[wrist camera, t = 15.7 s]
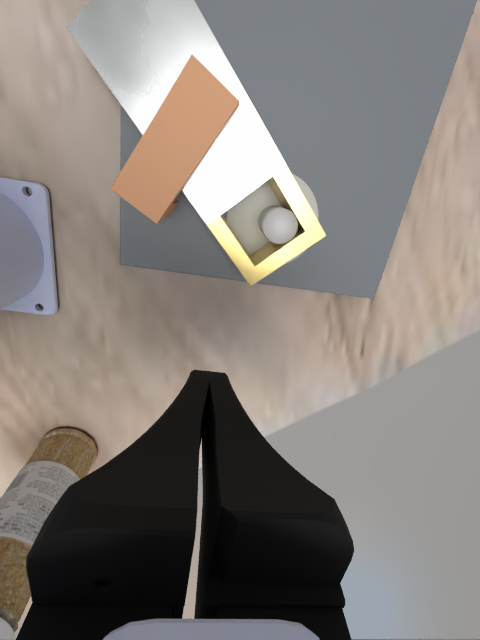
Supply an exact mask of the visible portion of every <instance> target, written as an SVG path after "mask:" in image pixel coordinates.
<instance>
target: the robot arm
mask: <svg viewBox="0 0 480 640" xmlns="http://www.w3.org/2000/svg"><path fill="white" fill-rule="evenodd" d="M27 187H29V188H30V189H31V191H32V195H31V196H29V195H28V194H27V192H26V188H27ZM38 304H41V305H42V306H43V309H41V308H40V307H39V306H38ZM0 310H7V311H16V312H25V313H34V314H42V315H52V314H54V313H56V312H57V310H58V300H57V287H56V275H55V262H54V249H53V237H52V224H51V212H50V199H49V192H48V190H47V188H46V187H45V186H44V185H42V184H39V183H34V182H28V181H21V180H15V179H9V178H3V177H0ZM201 438H202V470H203V508H202V523H201V537H200V551H199V565H198V578H197V591H196V604H195V618H194V619H182V614H183V608H184V605H185V598H186V592H187V585H188V579H189V572H190V566H191V558H192V553H193V546H194V540H195V532H196V517H197V494H198V493H197V492H198V467H199V449H200V444H201ZM353 553H354V546H353V541H352V538H351V536H350V533H349V530H348V527H347V525H346V523H345V520H344V518H343V516H342V514H341V512H340V510H339V508H338V506H337V504H336V502H335V500H334V499H333V498H332V497H331V496H329V495H327V494H326V493H325V492H323V491H322V490H321V489H320V488H318V487H317V486H315V485H314V484H313V483H311V482H310V481H308V480H307V479H306V478H305V477H303V476H302V475H301V474H300V473H299V472H298V471H297V470H295V469H294V468H293V467H292V466H291V465H290V464H289V463H287V462H286V461H285V460H284V459H283V458H282V457H281V456H280V455H279V454H278V453H277V452H276V451H275V450H274V449H273V448H272V446H271V445H270V444H269V443H268V442H267V441H266V440H265V438H264V437H263V436H262V435H261V433H260V432H259V431H258V429H257V428H256V427H255V425H254V424H253V423H252V421H251V420H250V418H249V417H248V415H247V414H246V412H245V410H244V409H243V407H242V405H241V403H240V402H239V400H238V398H237V396H236V394H235V392H234V390H233V388H232V386H231V384H230V381H229V379H228V376H227V375H226V373H220V372H210V371H200V370H193V371H192V372H191V373H190V376H189V378H188V380H187V382H186V384H185V385H184V387H183V389H182V390H181V392H180V393H179V394H178V396H177V397H176V399H175V400H174V401H173V403H172V404H171V405H170V406H169V408H168V409H167V410H166V411H165V412H164V414H163V415H162V416H161V417H160V418H159V419H158V420H157V421H156V422H155V423H154V424H153V425H152V426H151V427H150V428H149V429H148V430H147V431H146V432H145V433H144V434H143V435H142V436H141V437H140V438H139V439H137V440H136V441H135V442H134V443H133V444H132V445H130V446H129V447H128V448H127V449H125V450H124V451H123V452H121V453H120V454H119V455H117V456H116V457H114V458H113V459H112V460H110V461H109V462H108V463H106V464H105V465H103V466H102V467H100V468H99V469H97V470H96V471H94V472H92V473H91V474H89V475H87V476H86V477H84V478H82V479H81V480H79V481H77V482H75V483H74V484H72V485H70V486H69V487H68V488H67V489H66V491H65V492H64V493H63V495H62V496H61V498H60V499H59V500H58V502H57V503H56V505H55V506H54V508H53V509H52V511H51V512H50V514H49V515H48V517H47V518H46V520H45V522H44V523H43V525H42V527H41V529H40V531H39V533H38V535H37V537H36V539H35V541H34V543H33V545H32V547H31V549H30V551H29V553H28V555H27V557H26V571H27V576H28V581H29V587H30V592H31V597H32V602H33V603H32V605H31V607H30V610H29V612H28V614H27V616H26V618H25V621H24V623H23V625H22V627H21V629H20V632H19V634H18V636H17V638H16V640H480V639H351V637H350V634H349V630H348V627H347V624H346V620H345V616H344V613H343V609H342V608H344V606H345V598H344V595H343V591H342V588H341V585H340V582H341V580H342V578H343V576H344V574H345V572H346V570H347V568H348V566H349V564H350V562H351V559H352V556H353Z"/></svg>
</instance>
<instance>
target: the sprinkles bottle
mask: <svg viewBox="0 0 480 640" xmlns="http://www.w3.org/2000/svg"><path fill="white" fill-rule="evenodd" d="M96 456H97V448H96V445H95V443H94V441H93V440H92V439H91V438H89V437H88V436H87V435H86V434H84V433H83V432H81V431H78V430H76V429H67V428H62V429H55V430H53V431H50V432H49V433H47V434H46V435H45V436H43V438H42V439H41V441H40V443H39V446H38V448H37V449H36V450H35V452H34V454H33V455H32V456H31V458H30V459H29V461H28V462H27V464H26V465H25V466H24V467H23V468H22V469H21V470H20V471H19V473H18V474H17V476H16V477H15V479H14V480H13V482H12V483H11V484H10V486H9V487H8V489H7V490H6V491H5V493H4V494H3V496H2V497H1V499H0V640H14V637H15V636H14V633H15V631H16V630H17V629H18V622H19V620H20V618H21V616H22V614H23V612H24V610H25V607H26V605H27V603H28V601H29V598H30V596H31V592H30V587H29V581H28V576H27V571H26V557H27V555H28V553H29V551H30V549H31V547H32V545H33V543H34V541H35V539H36V537H37V535H38V533H39V531H40V529H41V527H42V525H43V523H44V522H45V520H46V518H47V517H48V515H49V514H50V512H51V511H52V509H53V508H54V506H55V505H56V503H57V502H58V500H59V499H60V498H61V496H62V495H63V493H64V492H65V491H66V489H67V488H68V487H69V486H70V485H72V484H74V483H75V482H77V481H79V480H81V479H82V478H84V477H86V475H87V473H88V471H89V469H90V466H91V465H92V464H93V463H94V461H95V459H96Z"/></svg>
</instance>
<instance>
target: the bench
mask: <svg viewBox="0 0 480 640" xmlns="http://www.w3.org/2000/svg"><path fill="white" fill-rule="evenodd" d="M194 1H195V3H196V4H197V6H198V8H199V10H200V12H201V13H202V15H203V17H204V19H205V20H206V22H207V24H208V26H209V28H210V29H211V31H212V33H213V35H214V37H215V38H216V40H217V42H218V44H219V45H220V47H221V49H222V51H223V53H224V54H225V56H226V58H227V60H228V61H229V63H230V65H231V67H232V69H233V70H234V72H235V74H236V76H237V78H238V79H239V81H240V83H241V85H242V86H243V88H244V90H245V92H246V94H247V95H248V97H249V99H250V101H251V102H252V104H253V106H254V108H255V110H256V111H257V113H258V115H259V117H260V119H261V120H262V122H263V124H264V126H265V127H266V129H267V131H268V133H269V135H270V136H271V138H272V140H273V142H274V143H275V145H276V147H277V149H278V151H279V152H280V154H281V156H282V158H283V159H284V161H285V163H286V165H287V167H288V168H289V170H290V172H291V174H292V176H293V177H294V179H295V181H296V183H297V184H298V186H299V188H300V190H301V192H302V193H303V195H304V197H305V199H306V200H307V202H308V204H309V206H310V208H311V209H312V211H313V213H314V215H315V217H316V218H317V220H318V222H319V224H320V225H321V227H322V229H323V231H324V233H325V234H326V236H325V237H323V238H322V239H320V240H319V241H317V242H316V243H314V244H313V245H311V246H310V247H308V248H307V249H305V250H304V251H302V252H301V253H299V254H298V255H297V256H295V257H294V258H292V259H291V260H289V261H288V262H286V263H285V264H283V265H282V266H280V267H279V268H277V269H276V270H274V271H273V272H271V273H270V274H268V275H267V276H265V277H264V278H263V279H261V280H260V281H258V282H257V283H261V284H268V285H276V286H283V287H291V288H298V289H305V290H313V291H320V292H328V293H335V294H342V295H350V296H357V297H365V298H372V299H374V297H375V294H376V291H377V289H378V286H379V283H380V280H381V277H382V274H383V271H384V268H385V265H386V263H387V260H388V257H389V254H390V251H391V248H392V245H393V242H394V239H395V236H396V234H397V231H398V228H399V225H400V222H401V219H402V216H403V213H404V210H405V208H406V205H407V202H408V199H409V196H410V193H411V190H412V187H413V184H414V181H415V179H416V176H417V173H418V170H419V167H420V164H421V161H422V158H423V155H424V153H425V150H426V147H427V144H428V141H429V138H430V135H431V132H432V129H433V126H434V124H435V121H436V118H437V115H438V112H439V109H440V106H441V103H442V100H443V98H444V95H445V92H446V89H447V86H448V83H449V80H450V77H451V74H452V71H453V69H454V66H455V63H456V60H457V57H458V54H459V51H460V48H461V45H462V43H463V40H464V37H465V34H466V31H467V28H468V25H469V22H470V19H471V16H472V14H473V11H474V8H475V5H476V2H477V0H194ZM142 136H143V135H142V133H141V132H140V130H139V129H138V128H137V126H136V125H135V123H134V122H133V121H132V119H131V118H130V116H129V115H128V114H127V112H126V111H125V109H124V108H123V107H122V105H121V171H122V169H123V167H124V166H125V164H126V162H127V161H128V159H129V157H130V156H131V154H132V152H133V151H134V149H135V147H136V146H137V144H138V142H139V141H140V139H141V137H142ZM176 199H177V200H179V201H180V202H179V203H178V205H177V206H176V208H175V209H174V211H173V212H172V214H171V215H170V216H169V217H167V218H165V219H164V220H162V221H161V222H159V223H157V224H156V223H155V222H154V221H152V220H151V219H150V218H148V217H147V216H146V215H144V214H143V213H142V212H140V211H139V210H138V209H136V208H135V207H134V206H132V205H131V204H130V203H128V202H127V201H126V200H124V199H123V198H122V197H121V196H120V265H128V266H135V267H143V268H150V269H157V270H165V271H172V272H180V273H187V274H194V275H202V276H209V277H217V278H224V279H231V280H239V281H246V279H245V278H244V276H243V275H242V274H241V272H240V271H239V269H238V268H237V267H236V265H235V264H234V262H233V261H232V260H231V258H230V257H229V255H228V254H227V253H226V251H225V250H224V248H223V247H222V246H221V244H220V243H219V241H218V240H217V239H216V237H215V236H214V234H213V233H212V231H211V230H210V229H209V227H208V226H207V224H206V223H205V222H204V220H203V219H202V217H201V216H200V215H199V213H198V212H197V210H196V209H195V208H194V206H193V205H192V203H191V202H190V201H189V199H188V198H187V196H186V195H185V194H184V192H183V191H182V190H181V191H180V193H179V194H178V196H177V197H176ZM222 215H223V216H224V218H225V219H226V221H227V222H228V224H229V225H230V227H231V228H232V229H233V231H234V232H235V234H236V235H237V237H238V238H239V240H240V241H241V243H242V244H243V246H244V247H245V248H246V250H247V251H248V253H249V254H250V255H252V254H253V253H254V252H256V251H257V250H259V249H260V248H262V247H263V246H264V245H266V244H267V243H269V242H270V241H272V242H273V243H277V244H283V243H286V242H288V241H290V240H291V239H292V238H293V237H294V236H295V234H296V232H297V228H298V222H297V218H296V216H295V215H294V214H293V213H292V212H291V211H290V210H287V209H285V208H283V207H282V205H281V203H280V202H279V200H278V198H277V197H276V195H275V193H274V192H273V190H272V188H271V187H270V185H269V183H268V182H267V181H266V182H264V183H263V184H262V185H260V186H259V187H258V188H256V189H255V190H254V191H252V192H251V193H250V194H248V195H247V196H246V197H244V198H243V199H242V200H240V201H239V202H237V203H236V204H235V205H233V206H232V207H231V208H229V209H228V210H227V211H225V212H224V213H223V214H222ZM246 282H247V281H246Z"/></svg>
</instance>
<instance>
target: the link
mask: <svg viewBox="0 0 480 640" xmlns="http://www.w3.org/2000/svg"><path fill="white" fill-rule="evenodd" d="M66 28H67V29H68V31H69V32H70V34H71V35H72V36H73V38H74V39H75V41H76V42H77V43H78V45H79V46H80V48H81V49H82V50H83V52H84V53H85V55H86V56H87V57H88V59H89V60H90V62H91V63H92V65H93V66H94V67H95V69H96V70H97V72H98V73H99V74H100V76H101V77H102V79H103V80H104V81H105V83H106V84H107V86H108V87H109V88H110V90H111V91H112V93H113V94H114V95H115V97H116V98H117V100H118V101H119V102H120V104H121V105H122V107H123V108H124V109H125V111H126V112H127V114H128V115H129V116H130V118H131V119H132V121H133V122H134V123H135V125H136V126H137V128H138V129H139V130H140V132H141V133H142V135H143V134H144V132H145V131H146V129H147V128H148V126H149V124H150V123H151V121H152V119H153V118H154V116H155V114H156V113H157V111H158V109H159V108H160V106H161V104H162V103H163V101H164V99H165V98H166V96H167V94H168V93H169V91H170V89H171V88H172V86H173V84H174V83H175V81H176V80H177V78H178V76H179V75H180V73H181V71H182V70H183V68H184V66H185V65H186V63H187V61H188V60H189V58H190V56H191V55H193V56H194V57H195V58H196V59H197V60H198V61H199V62H200V63H202V64H203V65H204V66H205V67H206V68H207V69H208V70H209V71H210V72H211V73H212V74H213V75H214V76H215V77H216V78H217V79H218V80H219V81H220V82H221V83H222V84H223V85H224V86H225V87H226V88H227V89H228V90H229V91H230V92H231V93H232V94H233V95H234V96H235V97H236V98H237V99H238V100H239V101H240V103H239V106H238V108H237V109H236V111H235V112H234V114H233V115H232V116H231V118H230V119H229V121H228V122H227V124H226V125H225V127H224V128H223V130H222V131H221V133H220V134H219V136H218V137H217V139H216V140H215V141H214V143H213V144H212V146H211V147H210V149H209V150H208V152H207V153H206V155H205V156H204V158H203V159H202V161H201V162H200V164H199V165H198V166H197V168H196V169H195V171H194V172H193V174H192V175H191V177H190V178H189V180H188V181H187V183H186V184H185V186H184V187H183V189H182V191H183V192H184V194H185V195H186V196H187V198H188V199H189V201H190V202H191V203H192V205H193V206H194V208H195V209H196V210H197V212H198V213H199V215H200V216H201V217H202V219H203V220H204V222H205V223H206V224H207V226H208V227H209V229H210V230H211V231H212V233H213V234H214V236H215V237H216V239H217V240H218V241H219V243H220V244H221V246H222V247H223V248H224V250H225V251H226V253H227V254H228V255H229V257H230V258H231V260H232V261H233V262H234V264H235V265H236V267H237V268H238V269H239V271H240V272H241V274H242V275H243V276H244V278H245V279H246V281H247V282H248V283H249V285H250V286H252V285H254V284H255V283H257V282H258V281H260V280H261V279H263V278H264V277H265V276H267V275H268V274H270V273H271V272H273V271H274V270H276V269H277V268H279V267H280V266H282V265H283V264H285V263H286V262H288V261H289V260H291V259H292V258H294V257H295V256H297V255H298V254H299V253H301V252H302V251H304V250H305V249H307V248H308V247H310V246H311V245H313V244H314V243H316V242H317V241H319V240H320V239H322V238H323V237H325V236H326V234H325V233H324V231H323V229H322V227H321V225H320V224H319V222H318V220H317V218H316V217H315V215H314V213H313V211H312V209H311V208H310V206H309V204H308V202H307V200H306V199H305V197H304V195H303V193H302V192H301V190H300V188H299V186H298V184H297V183H296V181H295V179H294V177H293V176H292V174H291V172H290V170H289V168H288V167H287V165H286V163H285V161H284V159H283V158H282V156H281V154H280V152H279V151H278V149H277V147H276V145H275V143H274V142H273V140H272V138H271V136H270V135H269V133H268V131H267V129H266V127H265V126H264V124H263V122H262V120H261V119H260V117H259V115H258V113H257V111H256V110H255V108H254V106H253V104H252V102H251V101H250V99H249V97H248V95H247V94H246V92H245V90H244V88H243V86H242V85H241V83H240V81H239V79H238V78H237V76H236V74H235V72H234V70H233V69H232V67H231V65H230V63H229V61H228V60H227V58H226V56H225V54H224V53H223V51H222V49H221V47H220V45H219V44H218V42H217V40H216V38H215V37H214V35H213V33H212V31H211V29H210V28H209V26H208V24H207V22H206V20H205V19H204V17H203V15H202V13H201V12H200V10H199V8H198V6H197V4H196V3H195V1H194V0H92V1H91V2H90V3H89V4H88V5H87V6H86V7H85V8H84V9H83V10H82V11H81V12H80V13H79V14H78V15H77V16H76V17H75V18H74V19H73V20H72V21H71V22H70V23H69V24H68V25H67V26H66ZM266 181H267V182H268V183H269V185H270V187H271V188H272V190H273V192H274V193H275V195H276V197H277V198H278V200H279V202H280V203H281V205H282V207H283V208H285V209H287V210H290V211H291V212H292V213H293V214H294V215H295V216H296V218H297V222H298V228H297V232H296V234H295V236H294V237H293V238H292V239H291V240H290V241H288V242H286V243H283V244H277V243H273V242H272V241H270V242H269V243H267V244H266V245H264V246H263V247H262V248H260V249H259V250H257V251H256V252H254V253H253V254H252V255H250V254H249V253H248V251H247V250H246V248H245V247H244V246H243V244H242V243H241V241H240V240H239V238H238V237H237V235H236V234H235V232H234V231H233V229H232V228H231V227H230V225H229V224H228V222H227V221H226V219H225V218H224V216H223V215H222V214H223V213H224V212H225V211H227V210H228V209H229V208H231V207H232V206H233V205H235V204H236V203H237V202H239V201H240V200H242V199H243V198H244V197H246V196H247V195H248V194H250V193H251V192H252V191H254V190H255V189H256V188H258V187H259V186H260V185H262V184H263V183H264V182H266Z"/></svg>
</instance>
